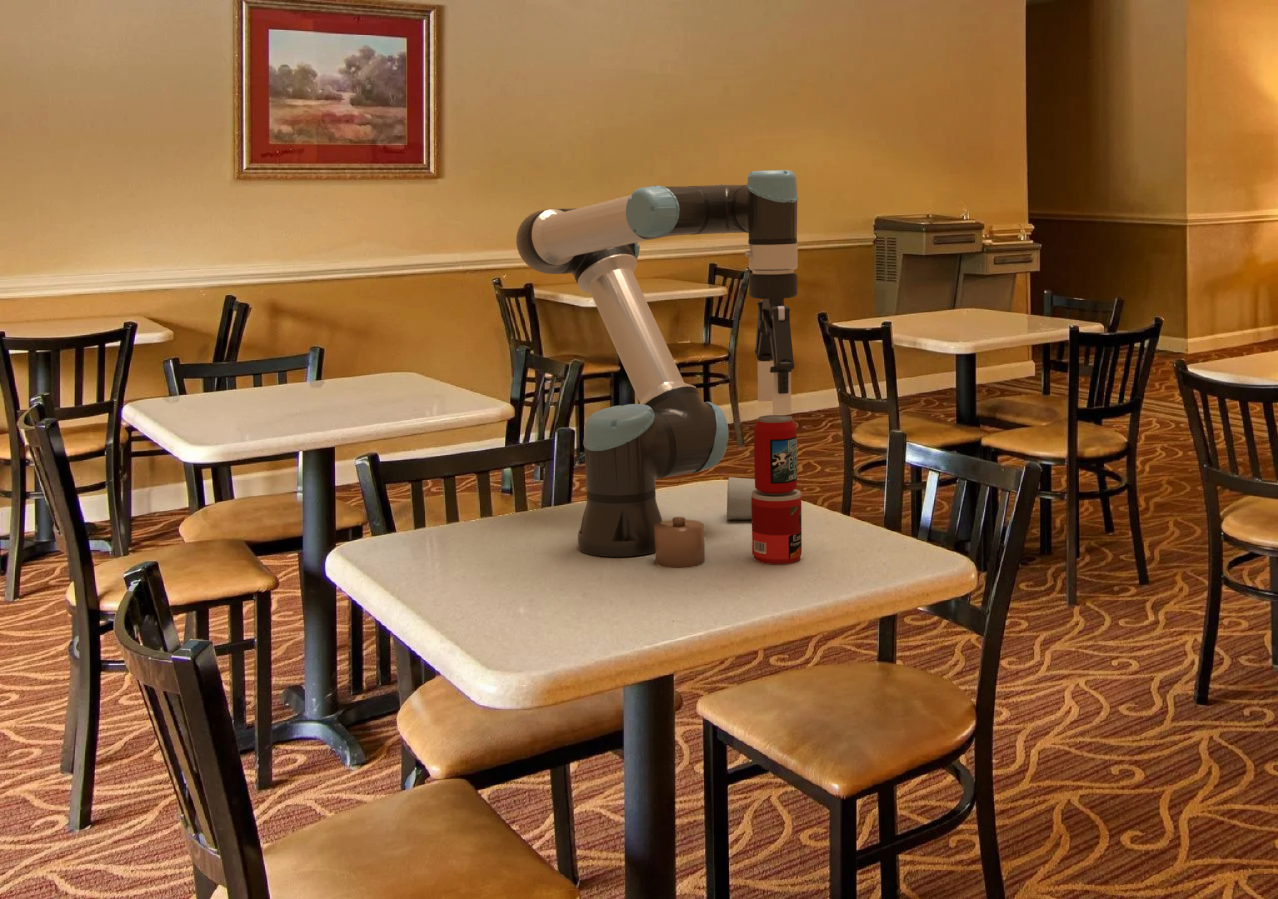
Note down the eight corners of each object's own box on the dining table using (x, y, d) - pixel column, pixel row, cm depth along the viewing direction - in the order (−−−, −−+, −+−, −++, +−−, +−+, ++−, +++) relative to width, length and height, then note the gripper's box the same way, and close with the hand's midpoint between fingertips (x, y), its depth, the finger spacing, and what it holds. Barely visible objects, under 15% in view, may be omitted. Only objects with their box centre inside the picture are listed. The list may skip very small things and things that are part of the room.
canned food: (800, 565, 207) (799, 497, 205) (749, 564, 209) (748, 496, 207) (803, 552, 215) (803, 487, 213) (754, 551, 216) (753, 486, 214)
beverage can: (786, 497, 205) (785, 422, 203) (747, 494, 209) (746, 419, 207) (804, 489, 211) (803, 415, 209) (766, 485, 215) (765, 413, 212)
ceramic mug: (772, 523, 235) (772, 481, 234) (726, 523, 236) (726, 481, 235) (771, 510, 246) (770, 470, 244) (727, 511, 246) (726, 470, 245)
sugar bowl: (645, 563, 212) (643, 520, 210) (676, 552, 218) (675, 510, 216) (684, 571, 207) (682, 526, 205) (714, 559, 213) (713, 516, 211)
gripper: (736, 268, 216) (738, 396, 220) (762, 277, 191) (764, 421, 195) (782, 267, 216) (782, 394, 220) (813, 275, 192) (814, 419, 196)
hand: (774, 407), depth 208 cm, fingers open, 13 cm apart
